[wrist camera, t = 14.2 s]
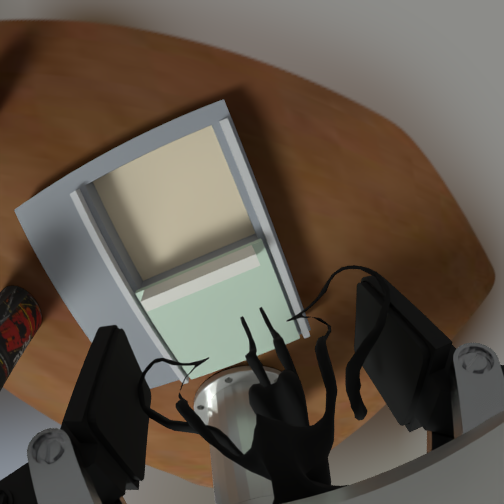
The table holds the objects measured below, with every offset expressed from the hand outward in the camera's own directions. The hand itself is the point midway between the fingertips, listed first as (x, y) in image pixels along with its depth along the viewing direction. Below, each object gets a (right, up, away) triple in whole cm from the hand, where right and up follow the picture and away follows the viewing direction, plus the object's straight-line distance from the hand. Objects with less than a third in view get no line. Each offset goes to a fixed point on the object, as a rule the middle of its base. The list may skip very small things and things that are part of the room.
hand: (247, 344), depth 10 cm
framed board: (-8, +2, +18) cm, 20 cm away
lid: (-3, -3, +18) cm, 19 cm away
